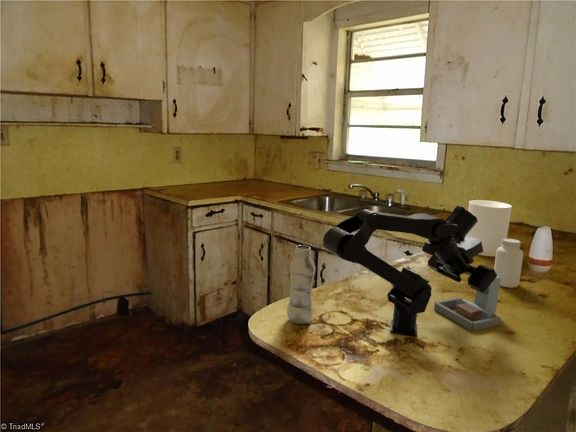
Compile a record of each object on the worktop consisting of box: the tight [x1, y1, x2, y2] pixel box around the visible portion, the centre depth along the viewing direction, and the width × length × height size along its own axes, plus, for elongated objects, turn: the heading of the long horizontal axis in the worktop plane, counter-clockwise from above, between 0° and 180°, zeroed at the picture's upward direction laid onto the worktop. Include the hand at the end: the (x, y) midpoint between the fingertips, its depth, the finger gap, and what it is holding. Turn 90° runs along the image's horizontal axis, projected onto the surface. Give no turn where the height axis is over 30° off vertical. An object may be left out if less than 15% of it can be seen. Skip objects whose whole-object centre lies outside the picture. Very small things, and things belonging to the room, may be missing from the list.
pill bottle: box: [493, 238, 524, 289], centre depth 140 cm, size 8×8×15 cm
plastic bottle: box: [286, 244, 316, 325], centre depth 108 cm, size 6×7×20 cm
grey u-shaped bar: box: [433, 297, 501, 332], centre depth 116 cm, size 10×14×2 cm
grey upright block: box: [461, 276, 501, 320], centre depth 117 cm, size 6×9×11 cm
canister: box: [466, 199, 513, 257], centre depth 176 cm, size 16×16×20 cm
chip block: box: [454, 303, 482, 322], centre depth 116 cm, size 4×5×3 cm
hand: (473, 287), depth 115 cm, fingers open, 9 cm apart
